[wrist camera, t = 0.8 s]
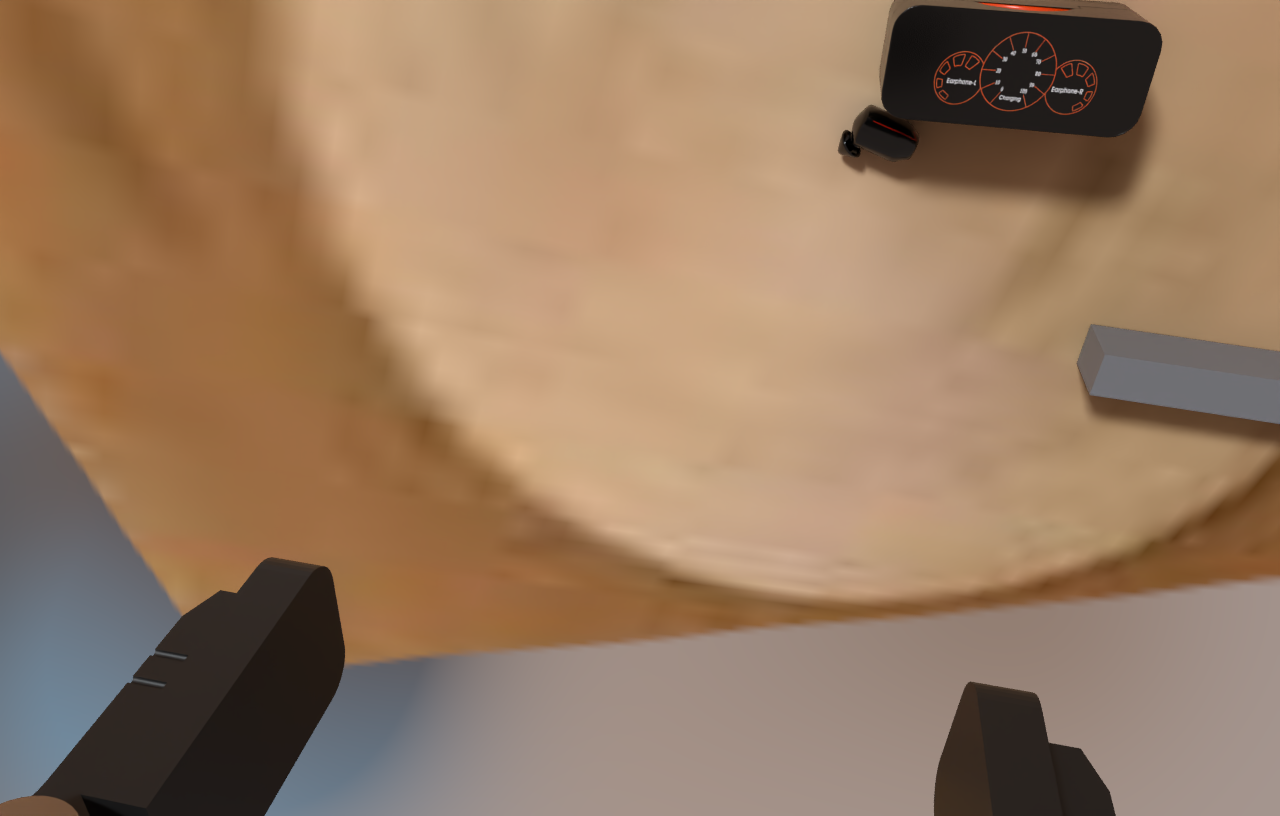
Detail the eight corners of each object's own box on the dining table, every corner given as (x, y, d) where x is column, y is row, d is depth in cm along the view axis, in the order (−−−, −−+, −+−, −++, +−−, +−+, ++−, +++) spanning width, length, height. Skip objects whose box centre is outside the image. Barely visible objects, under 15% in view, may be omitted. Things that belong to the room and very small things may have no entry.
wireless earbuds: (863, -19, 26) (863, 0, 24) (1136, 0, 25) (1169, 23, 23) (837, 148, 29) (835, 183, 26) (1086, 171, 28) (1110, 210, 25)
